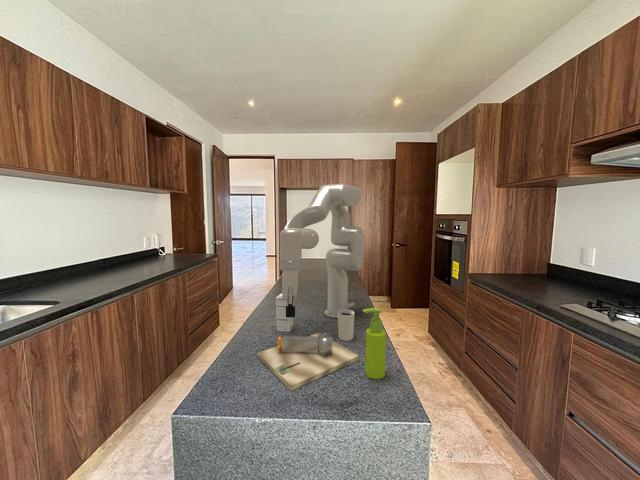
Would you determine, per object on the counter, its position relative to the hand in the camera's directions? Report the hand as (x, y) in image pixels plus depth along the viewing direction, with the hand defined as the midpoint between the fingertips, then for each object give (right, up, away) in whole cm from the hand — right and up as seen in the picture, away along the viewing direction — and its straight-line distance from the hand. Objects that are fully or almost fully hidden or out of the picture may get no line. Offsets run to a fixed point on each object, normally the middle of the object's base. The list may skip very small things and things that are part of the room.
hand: (290, 316), depth 96 cm
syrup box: (-4, -11, +18) cm, 21 cm away
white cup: (+21, -11, +11) cm, 26 cm away
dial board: (+6, -13, -5) cm, 15 cm away
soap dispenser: (+27, -14, -14) cm, 33 cm away
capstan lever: (+5, -11, -4) cm, 13 cm away
